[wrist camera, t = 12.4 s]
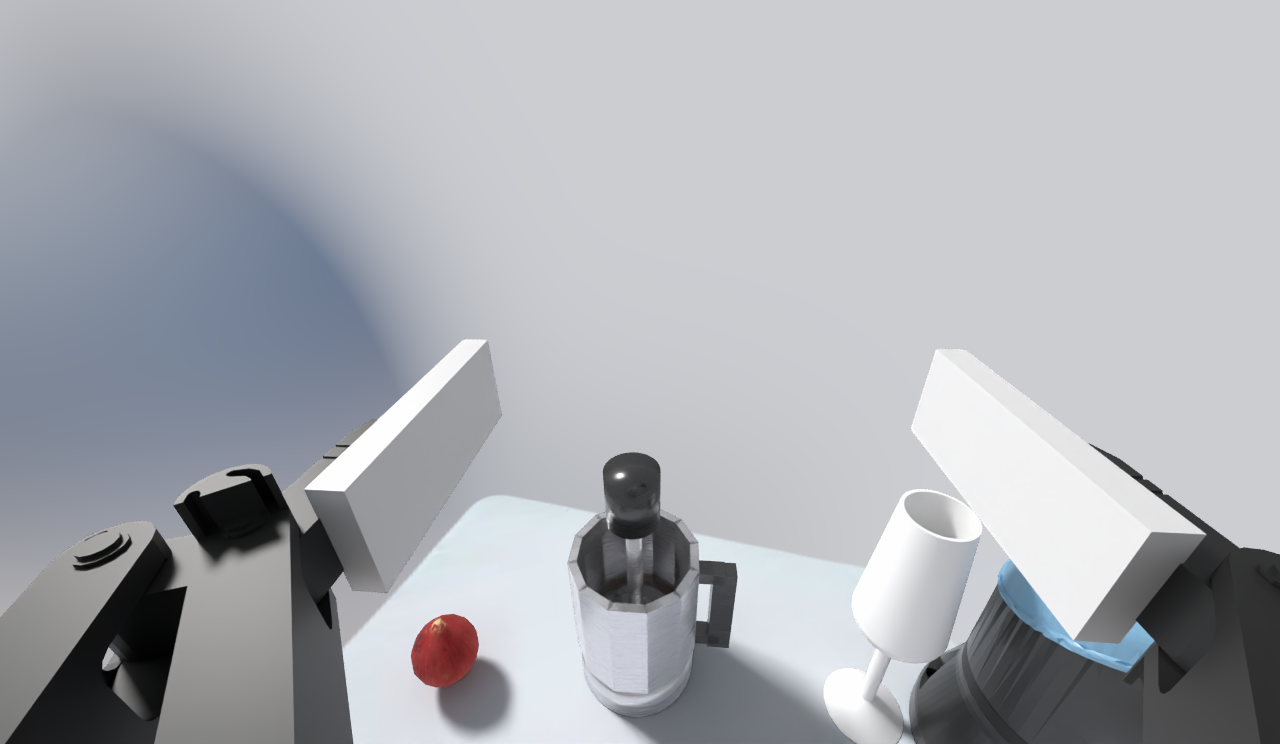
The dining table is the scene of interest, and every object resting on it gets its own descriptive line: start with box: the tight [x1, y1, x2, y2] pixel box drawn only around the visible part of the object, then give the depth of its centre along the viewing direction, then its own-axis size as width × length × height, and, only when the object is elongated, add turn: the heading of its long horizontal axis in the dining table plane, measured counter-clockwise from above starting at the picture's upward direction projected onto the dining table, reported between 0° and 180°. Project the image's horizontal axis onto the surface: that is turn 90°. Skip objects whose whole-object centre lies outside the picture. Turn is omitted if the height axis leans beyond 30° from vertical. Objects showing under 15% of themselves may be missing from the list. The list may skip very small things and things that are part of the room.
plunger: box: [603, 453, 665, 605], centre depth 39 cm, size 8×8×19 cm
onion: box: [411, 614, 479, 687], centre depth 43 cm, size 6×6×8 cm
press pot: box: [567, 509, 737, 717], centre depth 42 cm, size 14×11×15 cm
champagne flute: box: [824, 489, 982, 744], centre depth 36 cm, size 7×7×24 cm
